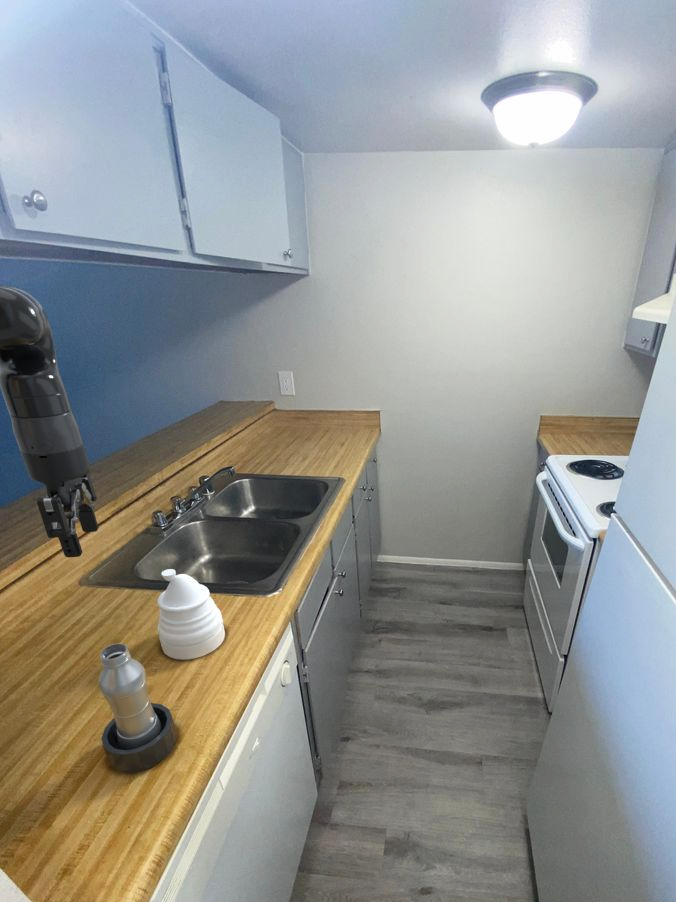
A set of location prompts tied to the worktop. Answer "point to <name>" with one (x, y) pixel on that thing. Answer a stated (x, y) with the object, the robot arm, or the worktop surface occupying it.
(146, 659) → the worktop surface
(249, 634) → the worktop surface
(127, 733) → the silver bottle
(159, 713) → the socket
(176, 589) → the honey pot
